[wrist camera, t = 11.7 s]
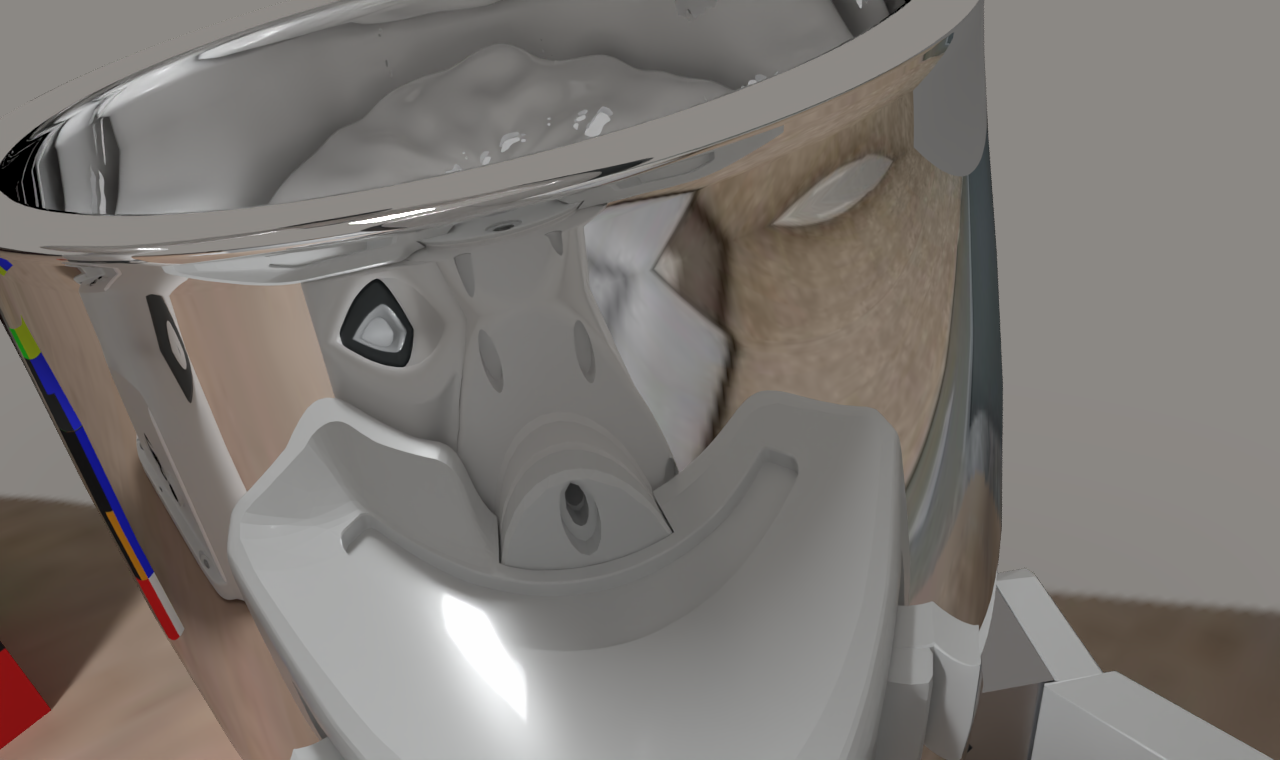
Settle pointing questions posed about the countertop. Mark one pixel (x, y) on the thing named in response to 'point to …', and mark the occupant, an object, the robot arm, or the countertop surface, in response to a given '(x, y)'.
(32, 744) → the countertop surface
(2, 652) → the puzzle toy
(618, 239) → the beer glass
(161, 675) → the countertop surface
